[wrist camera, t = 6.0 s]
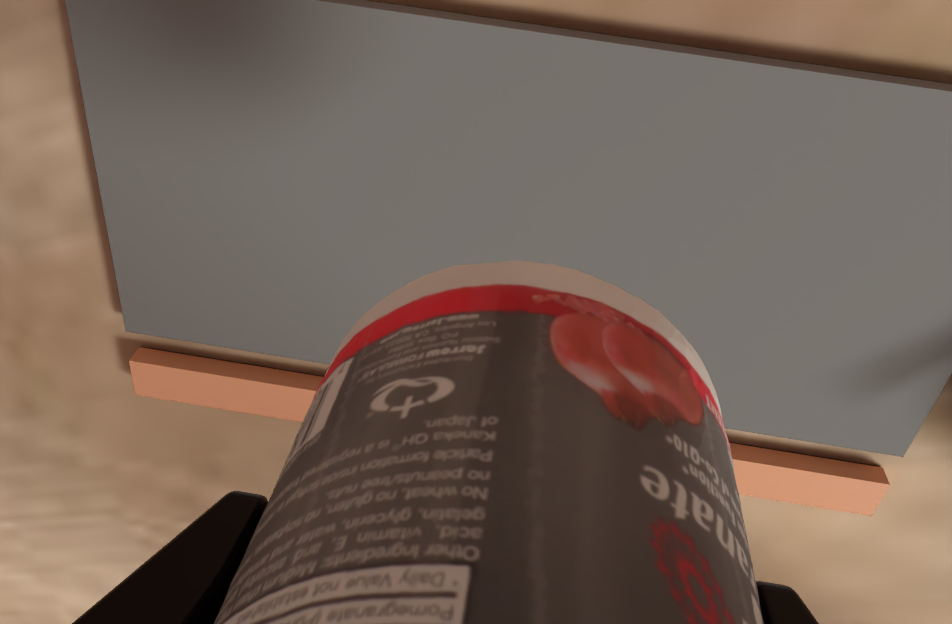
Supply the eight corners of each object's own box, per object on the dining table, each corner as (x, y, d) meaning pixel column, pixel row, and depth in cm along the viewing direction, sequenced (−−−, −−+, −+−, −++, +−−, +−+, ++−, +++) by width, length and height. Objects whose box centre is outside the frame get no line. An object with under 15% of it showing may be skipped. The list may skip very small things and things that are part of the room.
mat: (896, 443, 20) (902, 456, 20) (134, 320, 21) (125, 331, 21) (1089, 103, 15) (1103, 113, 15) (71, -43, 16) (57, -37, 16)
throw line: (865, 498, 22) (870, 515, 21) (145, 380, 22) (135, 395, 22) (882, 467, 21) (889, 484, 20) (139, 347, 22) (128, 360, 21)
